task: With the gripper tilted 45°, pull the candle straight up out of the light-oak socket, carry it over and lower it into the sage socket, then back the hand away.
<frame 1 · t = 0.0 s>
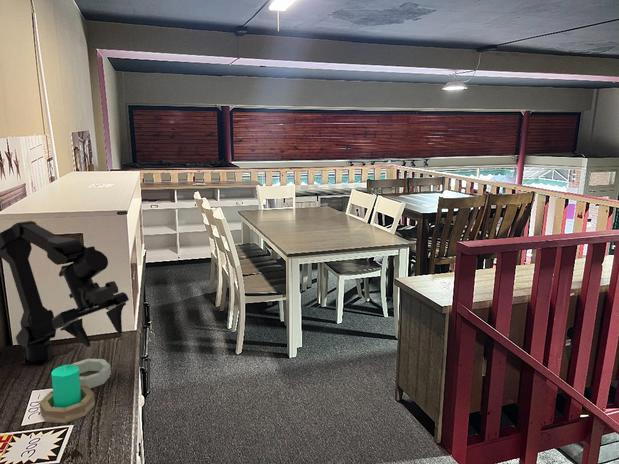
hand: (105, 339, 115), 15 cm above the dresser, tool tilted 35°, fingers open, 9 cm apart
socket 1: (68, 408, 111), on the dresser
socket 2: (87, 378, 124), on the dresser
candle: (68, 409, 111), resting in socket 1
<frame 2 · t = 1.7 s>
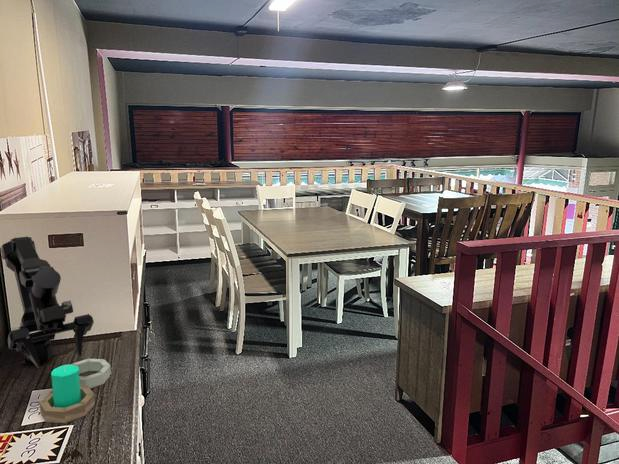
hand: (60, 361, 111), 11 cm above the dresser, tool tilted 45°, fingers open, 9 cm apart
nothing on the dresser moved.
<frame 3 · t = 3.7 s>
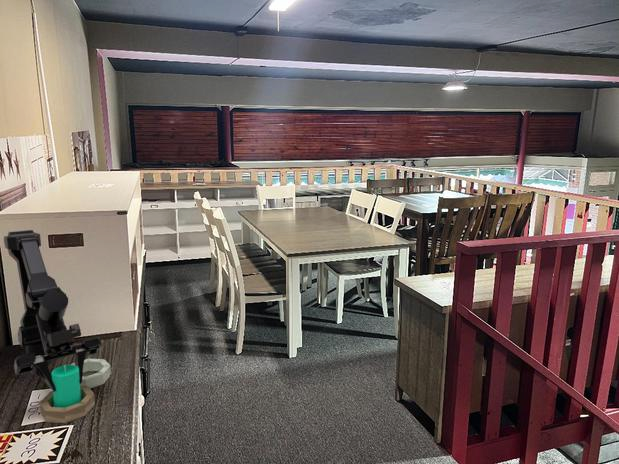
hand: (68, 387, 108), 7 cm above the dresser, tool tilted 45°, fingers closed on candle, 5 cm apart
candle: (68, 409, 111), resting in socket 1, touching gripper
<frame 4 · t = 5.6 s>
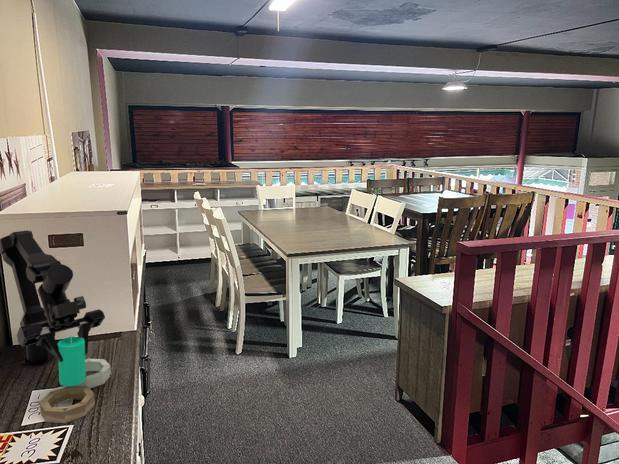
hand: (74, 357, 111), 12 cm above the dresser, tool tilted 45°, fingers closed on candle, 5 cm apart
candle: (72, 380, 113), point 6 cm above the dresser, touching gripper
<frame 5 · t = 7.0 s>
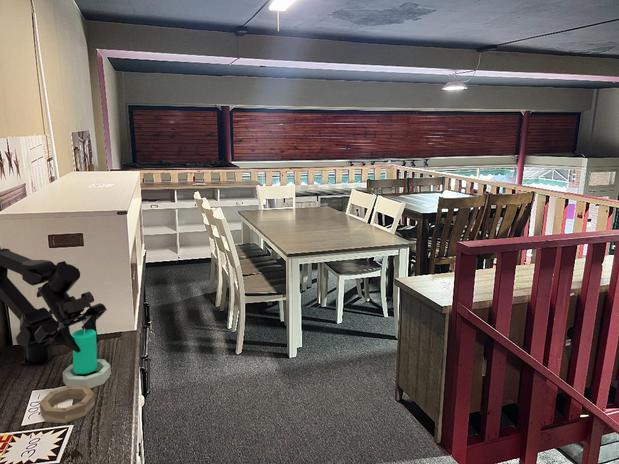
hand: (88, 347, 122), 10 cm above the dresser, tool tilted 45°, fingers closed on candle, 5 cm apart
candle: (85, 369, 124), point 3 cm above the dresser, touching gripper
when the fingers open (8 cm above the dresser, at t = 7.8 s): candle drops 1 cm, resting in socket 2.
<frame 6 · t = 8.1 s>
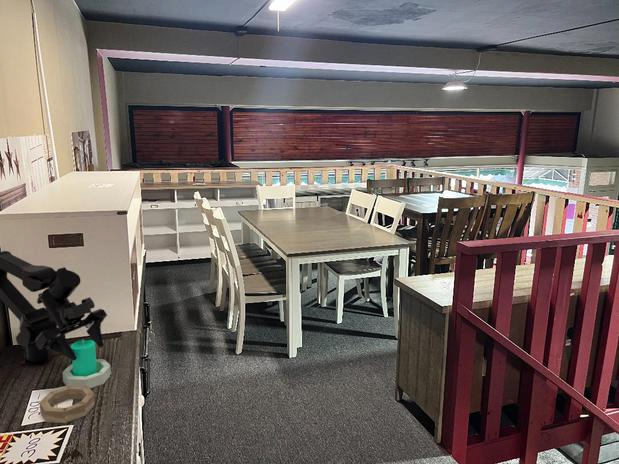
hand: (89, 353, 122), 8 cm above the dresser, tool tilted 45°, fingers open, 8 cm apart
candle: (85, 379, 124), resting in socket 2
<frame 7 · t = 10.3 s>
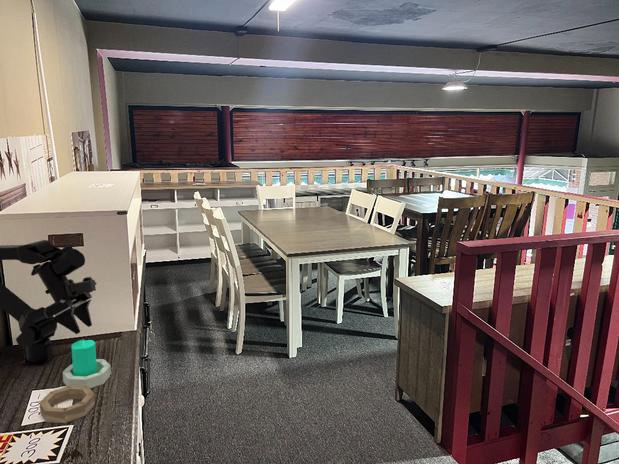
hand: (84, 329, 127), 12 cm above the dresser, tool tilted 30°, fingers open, 9 cm apart
nothing on the dresser moved.
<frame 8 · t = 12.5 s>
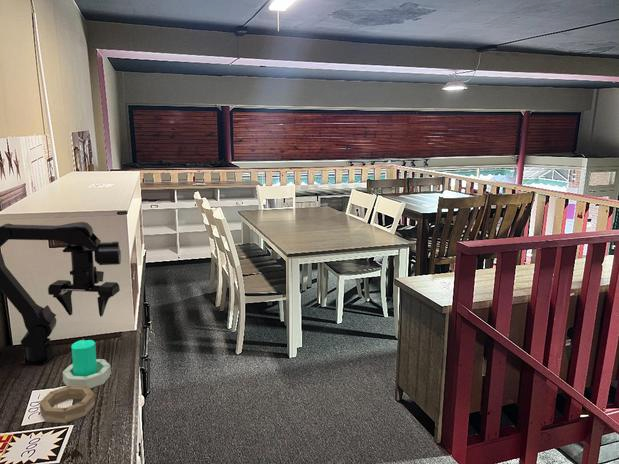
hand: (86, 315, 134), 13 cm above the dresser, tool pointing down, fingers open, 9 cm apart
nothing on the dresser moved.
at the end: candle 0.5 cm off-centre on the socket 2, point 0.0 cm above the socket 2's base; candle tilted 0°; the gripper is holding nothing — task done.
